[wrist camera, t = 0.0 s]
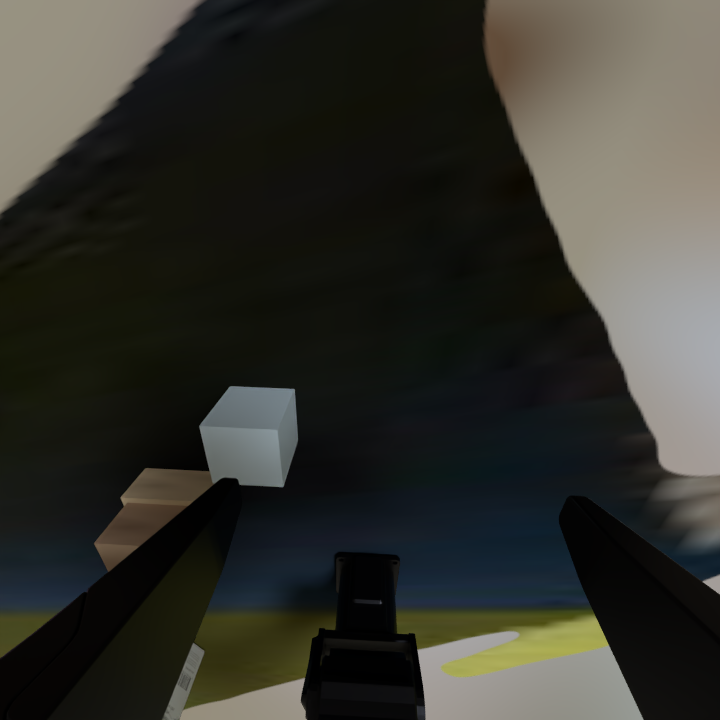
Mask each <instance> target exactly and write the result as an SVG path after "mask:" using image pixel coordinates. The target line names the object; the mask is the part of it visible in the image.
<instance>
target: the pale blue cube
mask: <svg viewBox="0 0 720 720" xmlns="http://www.w3.org/2000/svg"><path fill="white" fill-rule="evenodd" d="M199 428H200V432H201V436H202V440H203V445H204V449H205V453H206V457H207V462H208V466H209V470H210V474H211V479H212V483H216V482H217V481H218V480H220V479H221V478H224V477H227V478H237V479H238V481H239V485H253V486H273V487H283V486H284V483H285V480H286V477H287V474H288V471H289V467H290V464H291V461H292V458H293V455H294V452H295V448H296V445H297V442H298V433H297V418H296V403H295V389H279V388H257V387H235V386H230V387H229V388H228V390H227V391H226V392H225V393H224V395H223V396H222V397H221V399H220V400H219V401H218V402H217V404H216V405H215V406H214V408H213V409H212V410H211V411H210V413H209V414H208V415H207V417H206V418H205V419H204V420H203V422H202V423H201V424H200V426H199Z"/></svg>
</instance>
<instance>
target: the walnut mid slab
mask: <svg viewBox="0 0 720 720" xmlns="http://www.w3.org/2000/svg"><path fill="white" fill-rule="evenodd" d="M186 507H187V506H180V505H162V504H144V503H126V505H125V506H124V507H123V508H122V510H121V511H120V512H119V513H118V514H117V516H116V517H115V518H114V519H113V521H112V522H111V523H110V524H109V526H108V527H107V528H106V529H105V530H104V532H103V533H102V534H101V535H100V537H99V538H98V539H97V540H96V541H95V543H94V544H95V546H96V548H97V550H98V552H99V554H100V556H101V558H102V560H103V562H104V564H105V566H106V568H107V570H108V572H109V571H110V570H111V569H112V568H114V567H115V566H116V565H117V564H118V563H120V562H121V561H122V560H123V559H124V558H126V557H127V556H128V555H129V554H131V553H132V552H133V551H134V550H135V549H137V548H138V547H139V546H140V545H141V544H143V543H144V542H145V541H146V540H147V539H149V538H150V537H151V536H152V535H153V534H155V533H156V532H157V531H158V530H159V529H161V528H162V527H163V526H164V525H165V524H167V523H168V522H169V521H170V520H171V519H173V518H174V517H175V516H176V515H177V514H179V513H180V512H181V511H182V510H183V509H185V508H186Z"/></svg>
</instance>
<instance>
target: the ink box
mask: <svg viewBox="0 0 720 720" xmlns="http://www.w3.org/2000/svg"><path fill="white" fill-rule="evenodd" d="M203 655H204V650H202V649H201V648H200V647H199V646H197V645H196V644H195V643H193V645H192V647H191V650H190V652H189V655H188V657H187V660H186V662H185V665H184V667H183V669H182V672H181V674H180V677H179V679H178V682H177V684H176V687H175V689H174V692H173V694H172V697H171V699H170V702H169V704H168V707H167V709H166V712H165V714H164V717H163V719H162V720H179V719H180V717H181V713H182V711H183V709H184V706H185V703H186V701H187V698H188V695H189V693H190V690H191V687H192V684H193V682H194V679H195V676H196V674H197V671H198V668H199V666H200V663H201V660H202V658H203Z"/></svg>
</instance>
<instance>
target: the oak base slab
mask: <svg viewBox="0 0 720 720" xmlns="http://www.w3.org/2000/svg"><path fill="white" fill-rule="evenodd" d="M214 484H215V483H212V479H211V474H210V471H193V470H173V469H152V468H145V469H144V471H143V472H142V473H141V474H140V475H139V476H138V478H137V479H136V480H135V481H134V482H133V483H132V485H131V486H130V487H129V488H128V489H127V490H126V492H125V493H124V494H123V495H122V496H121V497H120V498H121V500H122V502H123V505H124V506H125V505H126V503H144V504H162V505H180V506H188V505H190V504H191V503H192V502H193V501H194V500H196V499H197V498H198V497H199V496H200V495H202V494H203V493H204V492H205V491H206V490H208V489H209V488H210V487H211V486H212V485H214Z"/></svg>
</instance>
